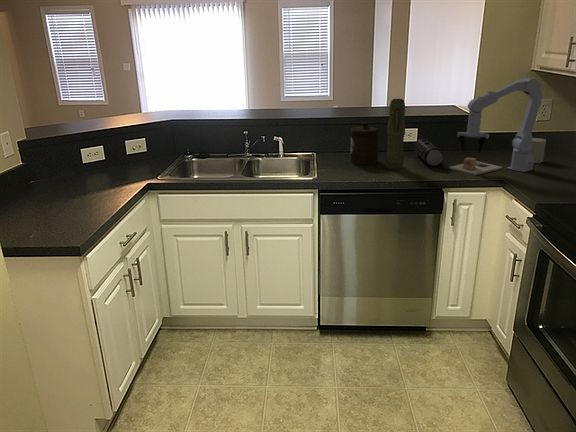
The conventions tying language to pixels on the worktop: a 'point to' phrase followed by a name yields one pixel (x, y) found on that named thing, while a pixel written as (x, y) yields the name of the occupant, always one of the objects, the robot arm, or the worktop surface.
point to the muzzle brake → (428, 152)
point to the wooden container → (364, 144)
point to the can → (538, 149)
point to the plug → (469, 164)
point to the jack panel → (477, 168)
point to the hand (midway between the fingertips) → (471, 151)
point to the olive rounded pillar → (396, 135)
